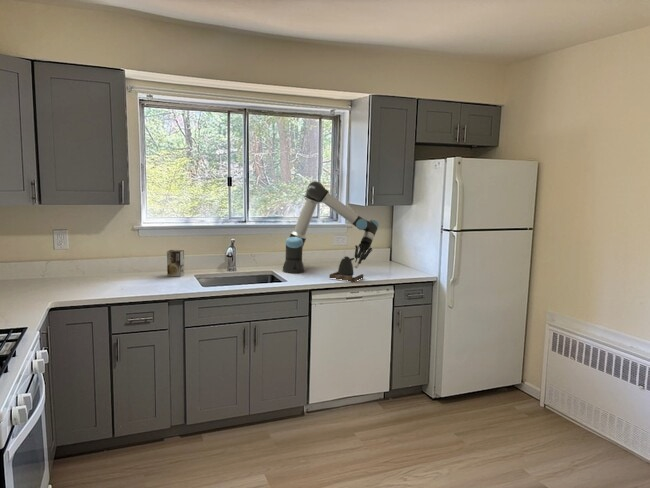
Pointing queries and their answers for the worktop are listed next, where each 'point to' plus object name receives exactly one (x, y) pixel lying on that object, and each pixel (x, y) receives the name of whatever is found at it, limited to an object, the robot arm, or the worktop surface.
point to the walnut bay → (345, 277)
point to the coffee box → (175, 263)
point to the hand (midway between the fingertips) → (356, 267)
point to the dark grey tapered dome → (346, 267)
